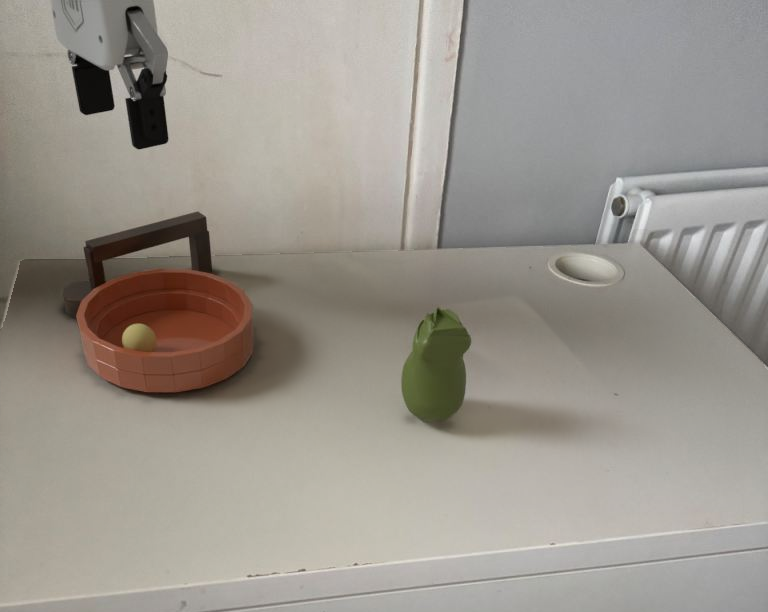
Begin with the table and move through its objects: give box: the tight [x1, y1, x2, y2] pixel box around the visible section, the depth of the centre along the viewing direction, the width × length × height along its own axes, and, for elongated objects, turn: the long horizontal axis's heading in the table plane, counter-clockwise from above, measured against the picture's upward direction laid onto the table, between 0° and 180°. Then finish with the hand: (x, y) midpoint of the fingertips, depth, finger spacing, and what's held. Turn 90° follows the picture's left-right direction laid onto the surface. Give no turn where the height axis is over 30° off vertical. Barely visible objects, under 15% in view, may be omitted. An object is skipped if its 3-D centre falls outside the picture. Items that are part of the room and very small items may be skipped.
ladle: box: [61, 211, 214, 319], centre depth 83 cm, size 16×4×6 cm, turn 131°
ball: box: [122, 324, 157, 352], centre depth 75 cm, size 3×3×3 cm
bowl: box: [76, 268, 255, 393], centre depth 77 cm, size 15×15×4 cm
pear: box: [400, 306, 472, 423], centre depth 70 cm, size 6×5×10 cm
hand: (123, 128), depth 74 cm, fingers open, 9 cm apart
